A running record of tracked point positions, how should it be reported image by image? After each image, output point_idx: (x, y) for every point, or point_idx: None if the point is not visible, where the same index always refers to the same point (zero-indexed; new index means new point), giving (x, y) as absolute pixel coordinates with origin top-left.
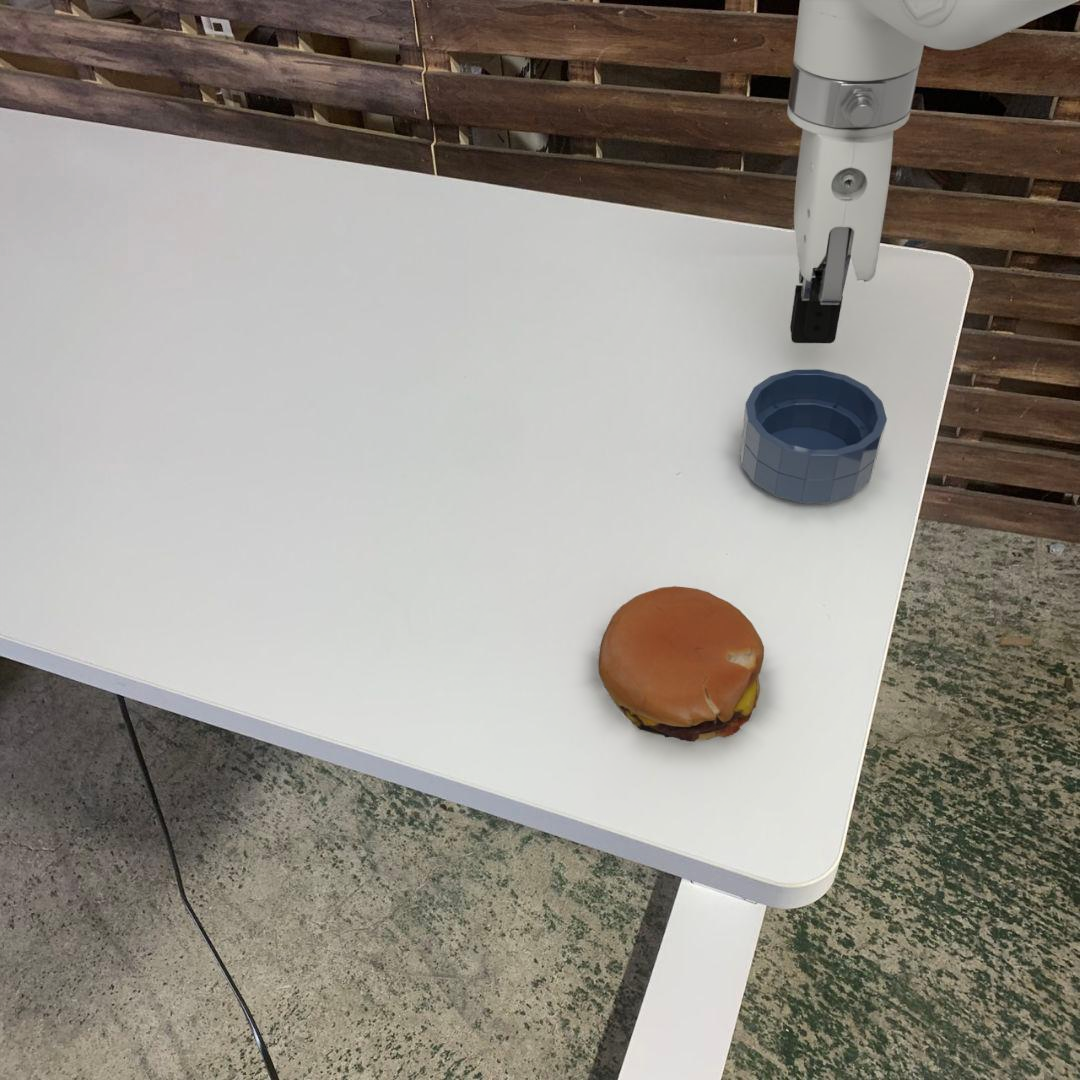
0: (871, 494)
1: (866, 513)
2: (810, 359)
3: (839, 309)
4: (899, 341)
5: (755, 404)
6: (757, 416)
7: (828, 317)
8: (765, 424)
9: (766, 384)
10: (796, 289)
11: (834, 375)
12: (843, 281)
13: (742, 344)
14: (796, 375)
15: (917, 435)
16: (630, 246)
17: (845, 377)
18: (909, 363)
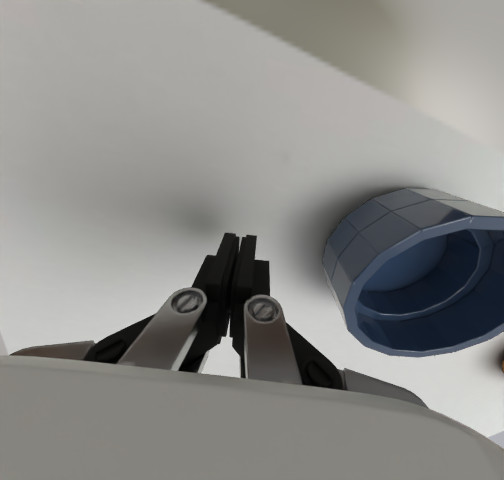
0: (459, 195)
1: None
2: (211, 216)
3: (252, 269)
4: (158, 83)
5: (386, 342)
6: (360, 313)
7: (268, 283)
8: (360, 299)
9: (363, 336)
10: (219, 342)
11: (374, 269)
12: (293, 359)
13: (190, 274)
14: (354, 307)
15: (380, 109)
16: (54, 333)
17: (384, 255)
18: (214, 79)
